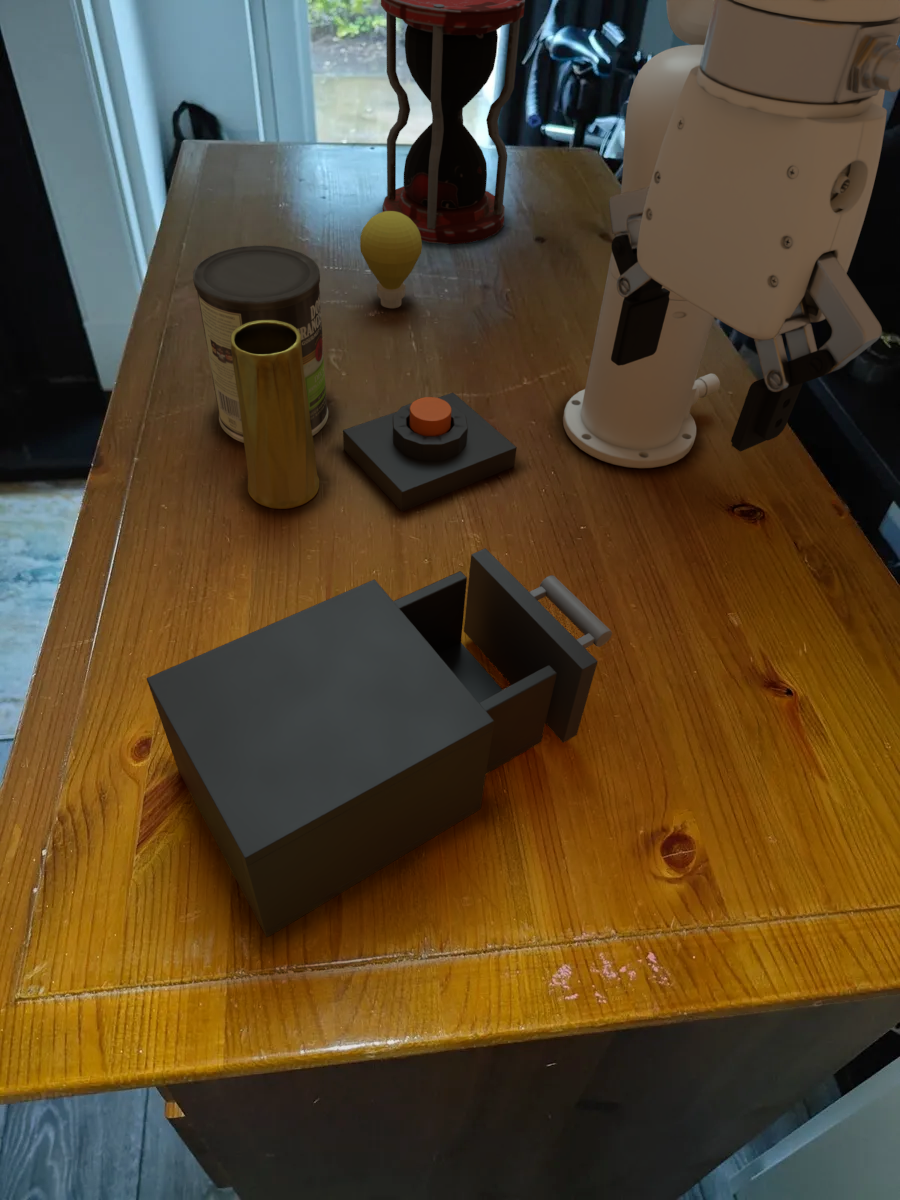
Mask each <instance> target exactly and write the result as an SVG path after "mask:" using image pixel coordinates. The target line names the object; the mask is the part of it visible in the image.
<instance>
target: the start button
mask: <svg viewBox="0 0 900 1200" xmlns="http://www.w3.org/2000/svg"><path fill="white" fill-rule="evenodd" d="M411 403H412V404H411ZM411 403H410V404H411V406H410V428H411V430H412V431H413V432H414V433H417V434H420V435H423V436H439V435H442V434H445V433H447V432H448V431H449V429H450V426H451V407H450V405H449V404H448V403H447V402H446V401H444V400H442V399H439V398H438V397H434V396H425V397H421V398H417V399H416V400H414V401H413V402H411Z"/></svg>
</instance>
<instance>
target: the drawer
mask: <svg viewBox="0 0 900 1200" xmlns="http://www.w3.org/2000/svg"><path fill="white" fill-rule="evenodd" d="M467 581H468V582H467ZM466 593H467V595H466ZM545 597H546V598H547V599H548V600H549V601H550V602H551V604H553V605H554V606H555V607H556V608H557V610H559V611H560V612H561V613H562V614H563V615H564V616H565V617H566V618H567V619H568V620H569V621H570V622H571V623H572V624H573V625H574V626H575V627H576V628H577V629H578V630H579V631H580V632H581V633H582V634H583V636H580V637H579V638H575V636H573V634H572V633H571V632H570V631H569V630H567V629H566V628H565V627H564V625H563V624H562V623H560V622H559V620H558V619H557V618H555V616H553V614H552V613H551V612H550V611H548V609H546V608H545V606H544V605H542V603H541V602H540V600H542V599H543V598H545ZM393 602H394V603H395V604H396V605H397V606H398V607H399V609H400V610H401V611H402V612H403V613H404V615H405V616H406V617H407V618H408V619H409V621H410V622H411V623H412V624H413V625H414V626H415V628H416V629H417V630H418V631H419V632H420V634H421V635H422V636H423V637H424V638H425V639H426V641H427V642H428V643H429V644H430V645H431V647H432V648H433V649H434V650H435V651H436V652H437V654H438V655H439V656H440V657H441V658H442V660H443V661H444V662H445V663H446V664H447V666H448V667H449V668H450V669H451V670H452V671H453V673H454V674H455V675H456V676H457V677H458V679H459V680H460V681H461V682H462V683H463V684H464V686H465V687H466V688H467V689H468V690H469V692H470V693H471V694H472V695H473V696H474V698H475V699H476V700H477V701H478V702H479V703H480V705H481V706H482V707H483V708H484V709H485V711H486V712H487V713H488V714H489V715H490V716H491V718H492V719H493V720H494V725H493V732H492V738H491V745H490V751H489V758H488V764H487V771H486V775H487V774H489V773H491V772H492V771H494V770H496V769H498V768H499V767H501V766H503V765H504V764H506V763H508V762H510V761H512V760H513V759H515V758H517V757H519V756H520V755H522V754H523V753H526V752H527V751H529V750H531V749H533V747H536V746H538V745H539V744H542V741H543V736H544V730H545V726H547V727H548V728H549V729H550V730H551V732H553V734H555V736H556V737H557V738H558V739H559V740H560V741H561V743H562V744H564V743H566V742H568V741H569V740H571V739H572V738H574V737H576V736H577V735H578V732H579V728H580V727H581V721H582V718H583V714H584V712H585V708H586V704H587V700H588V697H589V694H590V691H591V686H592V683H593V679H594V676H595V672H596V670H597V665H598V663H599V661H598V660H597V658H595V656H593V655H592V653H590V652H589V651H588V650H587V649H588V648H589V647H591V646H593V645H594V646H595V647H598V648H600V647H603V646H604V645H605V644H607V643H608V642H609V640H611V638H612V636H613V631H612V630H611V628H609V627H608V626H607V625H606V624H605V623H604V622H603V621H602V620H601V619H599V618H598V617H597V615H595V613H593V612H592V611H591V610H590V609H589V608H588V607H587V606H586V605H585V604H584V603H583V602H582V601H581V600H580V599H579V598H578V596H576V595H575V594H573V592H572V591H570V590H569V589H568V588H567V586H565V585H564V584H563V583H562V582H561V581H560V580H559V578H557V577H556V576H555V575H553V574H552V575H548V576H546V577H545V578H543V579H542V581H541V582H540V584H539V586H538V587H537V588H535V589H532V590H530V591H529V590H528V589H527V588H526V587H525V586H524V585H523V584H522V583H521V582H520V581H519V580H518V579H517V578H516V577H515V576H514V575H513V574H512V573H511V572H510V571H509V570H508V569H507V568H506V567H505V565H503V564H502V563H501V562H500V561H499V560H498V559H497V558H496V557H495V556H494V555H493V554H492V553H491V552H490V551H489V549H488V548H483V549H480V550H478V551H476V552H473V553H471V555H470V563H469V573H468V578H467V576H466V575H465V573H463V572H462V571H461V570H459V571H457V572H455V573H453V574H449V575H448V576H446V577H444V578H442V579H439V580H437V581H435V582H433V583H429V584H428V585H426V586H424V587H421V588H419V589H417V590H415V591H413V592H410V593H408V594H406V595H403V596H401V597H399V598H397V599H395V600H393ZM465 602H466V603H465ZM464 613H465V615H464ZM464 616H465V617H464ZM463 625H464V627H463ZM463 633H465V635H466V636H467V637H468V638H469V639H470V640H471V642H473V644H474V645H475V646H476V647H477V648H478V649H479V650H480V651H481V652H482V654H483V655H484V656H485V657H486V658H487V660H488V661H489V662H490V663H491V664H492V665H493V666H494V667H495V668H496V669H497V671H498V672H499V673H500V674H501V675H502V676H503V677H504V678H505V680H507V682H508V683H509V684H510V685H509V686H506V687H505V688H502V687H501V686H500V684H498V682H496V680H495V679H494V678H493V677H492V676H491V675H490V674H489V672H488V671H487V669H485V667H483V665H482V664H481V663H480V662H479V661H478V659H476V658H475V656H474V655H473V654H472V653H471V652H470V651H469V649H467V647H466V646H465V645H464V644H463V643H462V635H463Z"/></svg>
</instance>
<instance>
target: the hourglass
mask: <svg viewBox="0 0 900 1200" xmlns="http://www.w3.org/2000/svg"><path fill="white" fill-rule="evenodd" d="M525 4H526V0H380V6H381V8H382V9H383V10H384V11H385V14H386V22H385V23H386V75H387V78H388V82H389V85H390V86H391V88H392V89H393V91H394V93H395V95H396V96H397V103H398V113H397V119H396V122H395V123H394V124H393V126H391V128H390V129H389V132H388V135H387V138H386V190H387V191H386V196H385V197H384V199H383V201H382V212H385V211H395V212H399V213H402V214H404V215H406V216H407V217H409V218H410V219H411V220H412V221H413V222H414V224H415V225H416V226H417V228H418V230H419V232H420V235H421V241H422V242H424V243H427V244H428V243H429V244H440V245H461V244H471V243H475V242H479V241H484V240H487V239H488V238H490V237H493V236H494V235H496V234H498V233H499V231H500V230H502V228H503V227H504V225H505V224H504V223H505V211H506V206H505V205H504V198H505V186H506V176H507V165H508V151H507V148H506V144H505V142H504V141H503V139H502V137H501V136H500V131H499V118H500V115H501V110H502V108H503V107H504V106H505V105H506V103H507V102H508V101H509V100H510V98H511V96H512V94H513V91H514V89H515V80H516V69H517V59H518V58H517V57H518V49H519V37H520V36H519V35H520V24H521V19H522V18H523V17H524V14H525ZM397 19H400V20H402V21H403V22H404V24H406V27H405V33H404V53H405V63H406V65H407V68H408V70H409V73H410V75H411V77H412V79H413V81H414V82H415V83H416V85H417V87H418V88H419V90H420V91H421V92H422V93H423V95H424V96H425V98H426V99H427V100H428V101H429V103H430V109H431V115H432V116H431V118H432V119H431V123H430V124H429V125H427V127H426V128H425V129H424V130H423V131H422V133H421V134H420V135H418V136H417V138H416V140H415V141H414V142H413V143H412V145H411V146H410V148H409V151H408V153H407V155H406V158H405V161H404V169H403V186H399V187H398V188H397V187H396V186H397V185H396V183H397V182H396V181H397V180H396V179H397V178H396V177H397V176H396V175H397V174H396V173H397V172H396V171H397V141H398V138H399V136H400V132H401V131H402V130H403V129H404V128H405V127H406V126H407V124H408V121H409V117H410V113H411V106H410V102H409V97H408V93H407V91H406V89H405V88H404V87H403V86H402V84H401V82H400V80H399V77H398V73H397ZM507 25H509V26H508V38H507V48H506V49H507V52H506V60H505V71H504V82H503V83H504V85H503V87H502V89H501V91H500V94H499V97H497V98H496V99H495V101H494V102H492V103H491V105H490V107H489V110H488V113H487V117H486V126H487V133H488V136H489V138H490V139H491V141H492V143H493V144H494V147H495V150H496V154H497V165H496V176H495V177H496V179H495V188H494V190H495V191H494V194H493V193H492V192H490V191H487V180H488V168H487V167H488V165H487V161H486V158H485V156H484V155H485V154H484V153H483V150H482V148H481V147H480V145H479V143H478V141H476V139H475V138H474V137H473V135H472V134H471V133H470V131H469V130H468V129H467V127H466V125H464V116H463V115H464V114H463V111H464V110H463V109H464V108H465V107H466V106H467V105H468V104H469V103H471V101H472V100H473V99H474V98H475V97H476V95H478V94H479V92H481V90H482V89H483V87H484V86H486V84H487V83H488V81H489V79H490V77H491V76H492V73H493V71H494V69H495V64H496V58H497V53H498V52H497V51H498V38H499V36H498V30H499V29H500V28H502V26H503V27H504V26H507Z"/></svg>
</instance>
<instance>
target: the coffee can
mask: <svg viewBox="0 0 900 1200" xmlns="http://www.w3.org/2000/svg"><path fill="white" fill-rule="evenodd" d="M192 280H193V285H194V288H195V290H196V293H197V298H198V299H197V300H198V304H199V310H200V311H199V312H200V315H201V320H202V321H201V322H202V327H203V333H204V337H205V344H206V349H207V355H208V359H209V360H208V361H209V366H210V373H211V377H212V384H213V390H214V394H215V399H216V405H217V411H218V412H217V413H218V422H219V425H220V427H221V429H222V430H223V432H224V433H226V435H228V436H229V437H231V438H232V439H233V440H235V441H237V442H240V443H243V444H244V439H243V430H242V422H241V414H240V405H239V398H238V393H237V387H236V380H235V373H234V366H233V359H232V352H231V335H232V333H233V332H234V330H235V329H237V328H238V327H240V326H241V325H243V324H246V323H248V322H252V321H257V320H276V321H281V322H285V323H288V324H291V325H292V326H294V327H295V328H296V329H297V330H298V331H299V332H300V334H301V347H302V359H303V369H304V377H305V385H306V391H307V398H308V406H309V413H310V423H311V429H312V435H313V437H314V436H315V435H316V434H319V432H320V431H321V430H322V429H323V428H324V426H325V425H326V424H327V422H328V418H329V408H328V401H327V399H328V398H327V386H326V371H325V369H326V368H325V356H324V355H325V354H324V340H323V324H322V323H323V321H322V320H323V319H322V306H321V291H320V288H321V287H320V282H321V271H320V268H319V266H318V264H317V263H316V261H315V260H313V258H311V257H309V256H308V255H306V254H304V253H302V252H301V251H297V250H295V249H291V248H288V247H282V246H274V245H258V244H257V245H244V246H242V245H241V246H237V247H232V248H231V247H230V248H227V249H224V250H221V251H218V252H215V253H213V254H210V255H209V256H207V257H205V258H204V259H202V260H201V261H200V262H199V263H198V264H196V266H195V268H194V270H193V271H192Z"/></svg>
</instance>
